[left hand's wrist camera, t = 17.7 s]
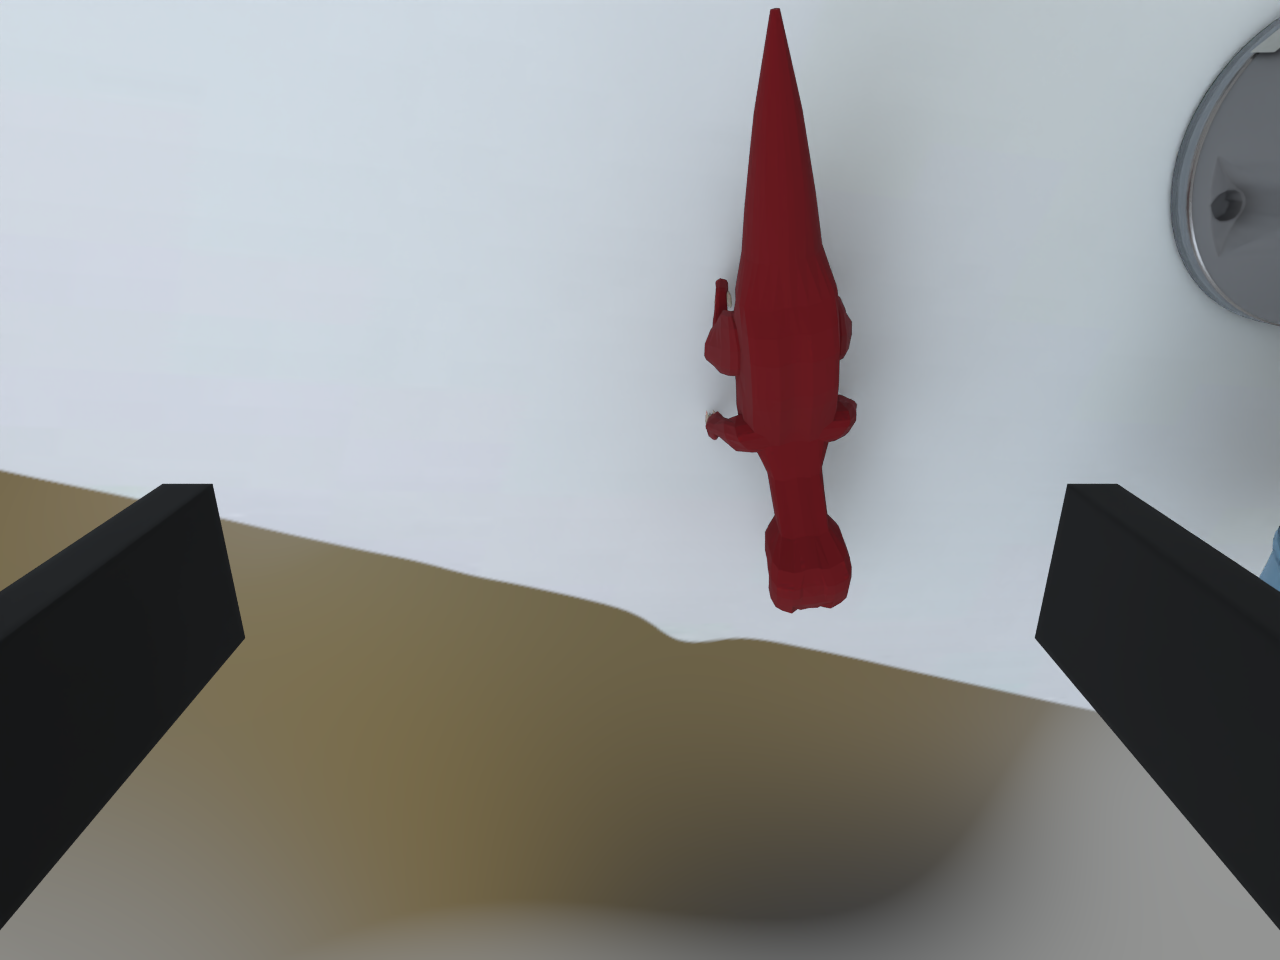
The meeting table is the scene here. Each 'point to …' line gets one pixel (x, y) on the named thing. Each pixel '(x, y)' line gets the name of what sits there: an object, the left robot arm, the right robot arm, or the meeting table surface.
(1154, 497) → the meeting table surface
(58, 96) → the meeting table surface
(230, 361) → the meeting table surface
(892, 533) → the meeting table surface
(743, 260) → the toy
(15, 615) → the left robot arm
